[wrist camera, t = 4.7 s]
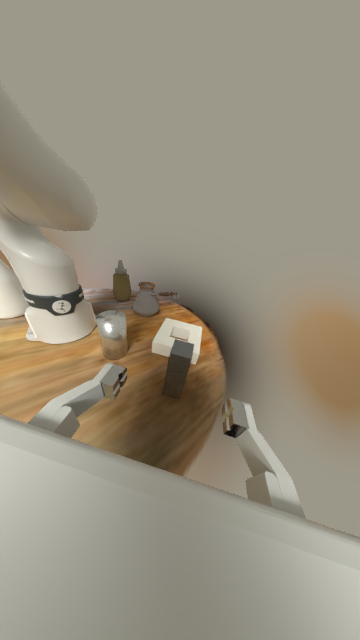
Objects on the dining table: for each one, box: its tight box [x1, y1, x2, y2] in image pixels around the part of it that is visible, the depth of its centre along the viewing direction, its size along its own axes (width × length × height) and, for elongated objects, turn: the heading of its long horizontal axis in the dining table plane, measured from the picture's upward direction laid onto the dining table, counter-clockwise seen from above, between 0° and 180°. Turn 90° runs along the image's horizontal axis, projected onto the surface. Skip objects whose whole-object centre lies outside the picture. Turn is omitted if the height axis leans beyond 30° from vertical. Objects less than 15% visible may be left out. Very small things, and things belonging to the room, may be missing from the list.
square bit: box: [163, 339, 194, 399], centre depth 29 cm, size 4×4×14 cm
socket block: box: [152, 318, 202, 365], centre depth 45 cm, size 14×14×4 cm
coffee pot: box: [133, 282, 177, 317], centre depth 54 cm, size 21×12×15 cm, turn 52°
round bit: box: [96, 310, 128, 360], centre depth 36 cm, size 7×7×12 cm
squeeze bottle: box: [113, 260, 131, 301], centre depth 62 cm, size 8×8×18 cm
